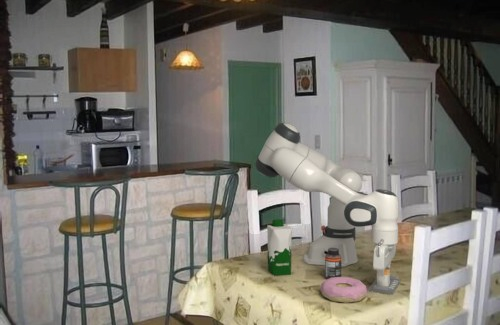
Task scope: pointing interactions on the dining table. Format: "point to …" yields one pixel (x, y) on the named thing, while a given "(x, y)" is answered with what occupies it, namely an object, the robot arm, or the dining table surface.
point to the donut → (343, 289)
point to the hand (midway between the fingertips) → (384, 276)
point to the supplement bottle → (332, 263)
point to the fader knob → (386, 278)
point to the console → (385, 289)
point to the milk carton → (279, 248)
